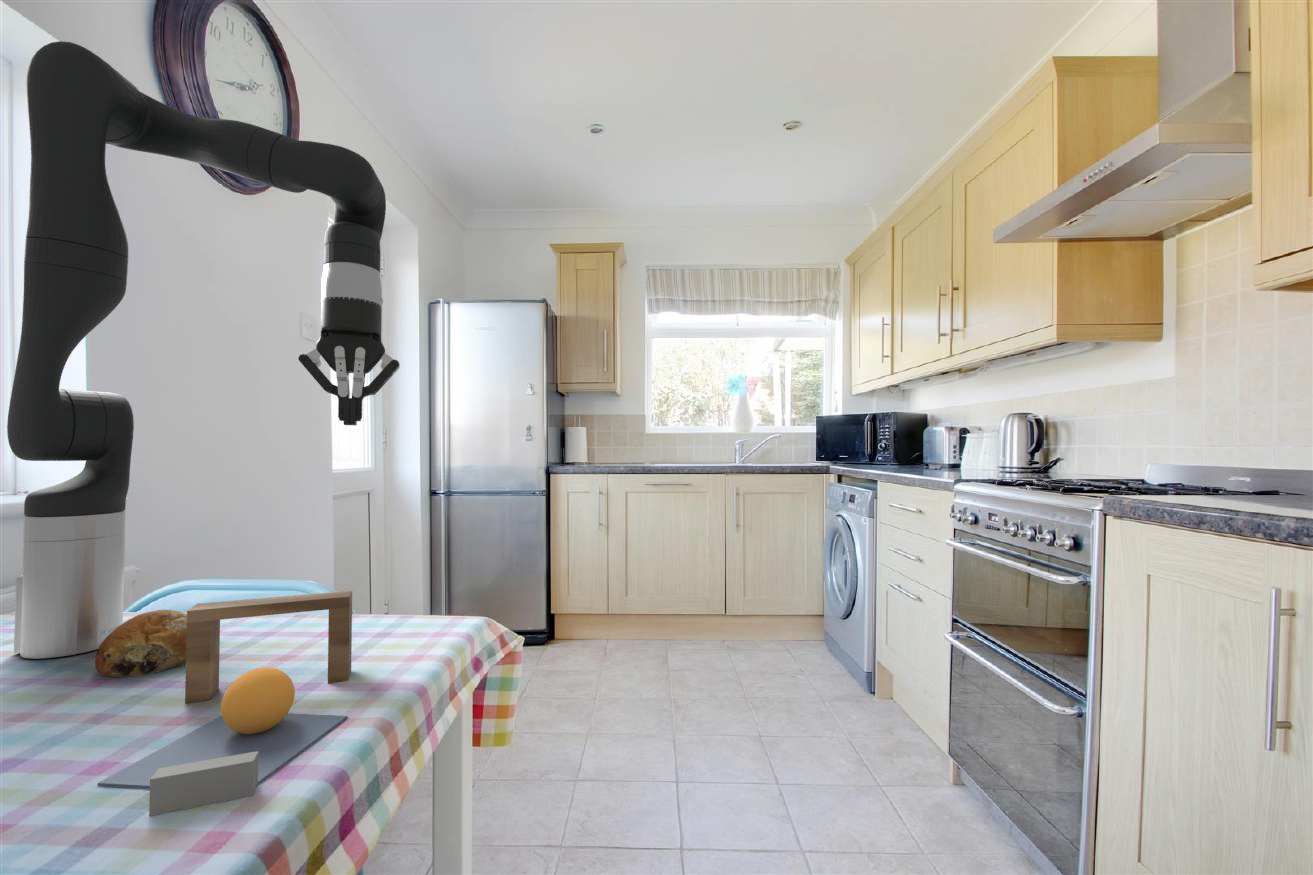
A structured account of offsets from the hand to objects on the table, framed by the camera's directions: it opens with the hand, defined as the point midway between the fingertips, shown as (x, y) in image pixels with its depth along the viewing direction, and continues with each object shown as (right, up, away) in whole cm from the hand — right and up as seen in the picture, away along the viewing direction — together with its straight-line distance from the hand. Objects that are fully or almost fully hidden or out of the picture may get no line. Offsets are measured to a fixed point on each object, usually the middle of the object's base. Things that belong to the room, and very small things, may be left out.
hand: (350, 424), depth 79 cm
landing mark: (+7, -28, -31) cm, 42 cm away
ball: (+7, -26, -28) cm, 38 cm away
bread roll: (-18, -29, -11) cm, 36 cm away
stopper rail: (+10, -28, -38) cm, 48 cm away
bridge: (+1, -29, -18) cm, 34 cm away
